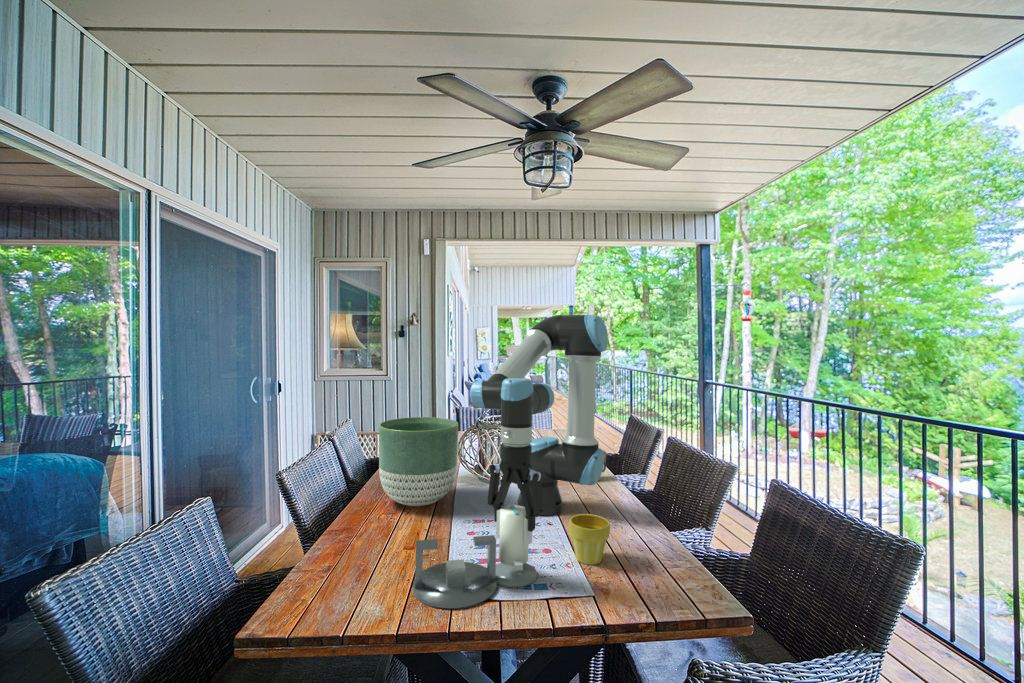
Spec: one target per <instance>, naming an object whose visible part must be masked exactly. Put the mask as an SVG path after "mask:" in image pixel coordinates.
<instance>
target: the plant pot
mask: <svg viewBox="0 0 1024 683" xmlns="http://www.w3.org/2000/svg"><path fill="white" fill-rule="evenodd" d="M568 522H569V524H568V526H569V527H568V528H569V529H568V530H569V534H570V535H571V538H572V544H573V550H574V556H575V559H576V561H577V562H579V563H581V564H585V565H591V566H592V565H597V564H600V562H602V559H603V555H604V550H605V547H606V543H607V540H608V539H609V538H610V533H611V523H610V521H609V520H608V519H607V518H605V517H603V516H599V515H597V514H591V513H580V514H575V515H572V516H571V517H570V518H569V521H568Z"/></svg>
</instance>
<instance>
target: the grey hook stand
mask: <svg viewBox="0 0 1024 683" xmlns="http://www.w3.org/2000/svg"><path fill="white" fill-rule="evenodd" d="M472 539H473V545H474V547H480V546H481V547H482V546H484V547H485V546H487V550H486V551H487V553H486V557H487V558H486V560H487V562H486V564H487V565H486V566H487V567H486V566H484V565H482V564H479V563H475V562H470V561H465V560H464V559H453V560H452V559H451V560H450V559H449V560H446V561H445V562H443V563H438V564H435V565H432V566H429V567H428V568H426V569H424V570H423V558H424V557H423V555H424V554H423V553H424V552H423V551H430V550H439V540H438V538H436V539H435V538H434V539H421V540H415V566H414V568H415V572H414V574H415V575H414V576H415V577H414V580H413V584H412V593H413V595H414V597H415V598H416V599H417V600H418V601H419V602H421V603H422V604H424V605H426V606H428V607H430V608H434V609H440V610H463V609H468V608H472V607H475V606H478V605H481V604H483V603H485V602H487V601H488V600H489V599H490V598H492V596H494V594H495V592H496V591H497V588H498V584H497V580H496V579H495V575H496V565H497V538H496V536H495V535H493V534H492V535H478V536H473V537H472Z"/></svg>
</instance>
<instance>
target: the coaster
mask: <svg viewBox="0 0 1024 683" xmlns="http://www.w3.org/2000/svg"><path fill="white" fill-rule="evenodd" d="M537 575H538V574H537V570H536V568H535V567H534V566H533V565H531V564H529V563H528V562H526V563H525V564H523V570H519V571H515V570H514V567H513V566H509V565H505V564H503V563H501V562H499V563H496V575H495V579H496V580H497V586H498V585H499V586H501V587H505V588H509V587H511V589H512V588H513V589H518V588H517V587H519V588H524V587H523V586H525V587H527V585H528V586H530V585H531V583H532V584H533V583H535V581H536V580H537Z"/></svg>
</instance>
